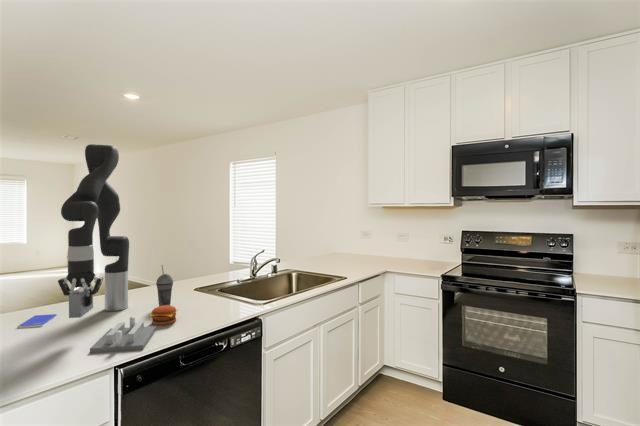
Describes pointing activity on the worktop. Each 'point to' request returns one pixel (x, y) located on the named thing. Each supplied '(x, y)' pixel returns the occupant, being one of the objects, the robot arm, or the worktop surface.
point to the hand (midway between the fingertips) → (81, 306)
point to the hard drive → (37, 321)
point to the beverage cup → (164, 289)
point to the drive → (78, 303)
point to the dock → (124, 338)
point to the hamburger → (163, 315)
